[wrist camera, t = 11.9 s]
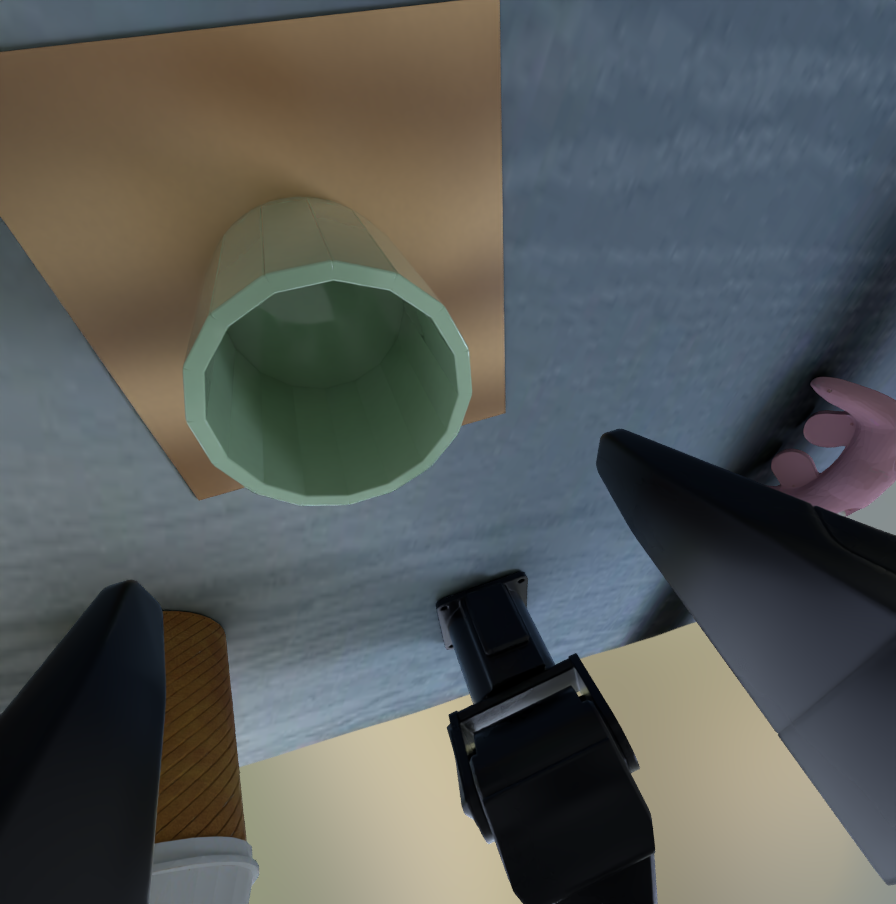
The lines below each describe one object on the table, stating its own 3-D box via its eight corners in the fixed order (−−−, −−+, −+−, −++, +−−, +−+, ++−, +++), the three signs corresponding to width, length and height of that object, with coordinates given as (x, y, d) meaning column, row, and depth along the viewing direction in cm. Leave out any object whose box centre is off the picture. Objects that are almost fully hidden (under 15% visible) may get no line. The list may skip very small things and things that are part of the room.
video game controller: (732, 476, 35) (828, 534, 32) (717, 494, 32) (823, 560, 29) (826, 363, 30) (953, 419, 27) (820, 370, 27) (963, 435, 23)
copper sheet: (504, 411, 21) (505, 413, 21) (199, 499, 19) (198, 500, 19) (498, -4, 12) (499, -4, 12) (-103, 64, 10) (-107, 63, 10)
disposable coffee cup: (63, 580, 19) (-90, 994, 11) (283, 597, 25) (299, 882, 16) (29, 696, 23) (-105, 1071, 15) (225, 689, 29) (213, 960, 20)
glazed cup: (420, 364, 18) (478, 466, 14) (254, 407, 17) (255, 534, 12) (390, 178, 14) (460, 233, 9) (165, 219, 13) (112, 306, 8)
